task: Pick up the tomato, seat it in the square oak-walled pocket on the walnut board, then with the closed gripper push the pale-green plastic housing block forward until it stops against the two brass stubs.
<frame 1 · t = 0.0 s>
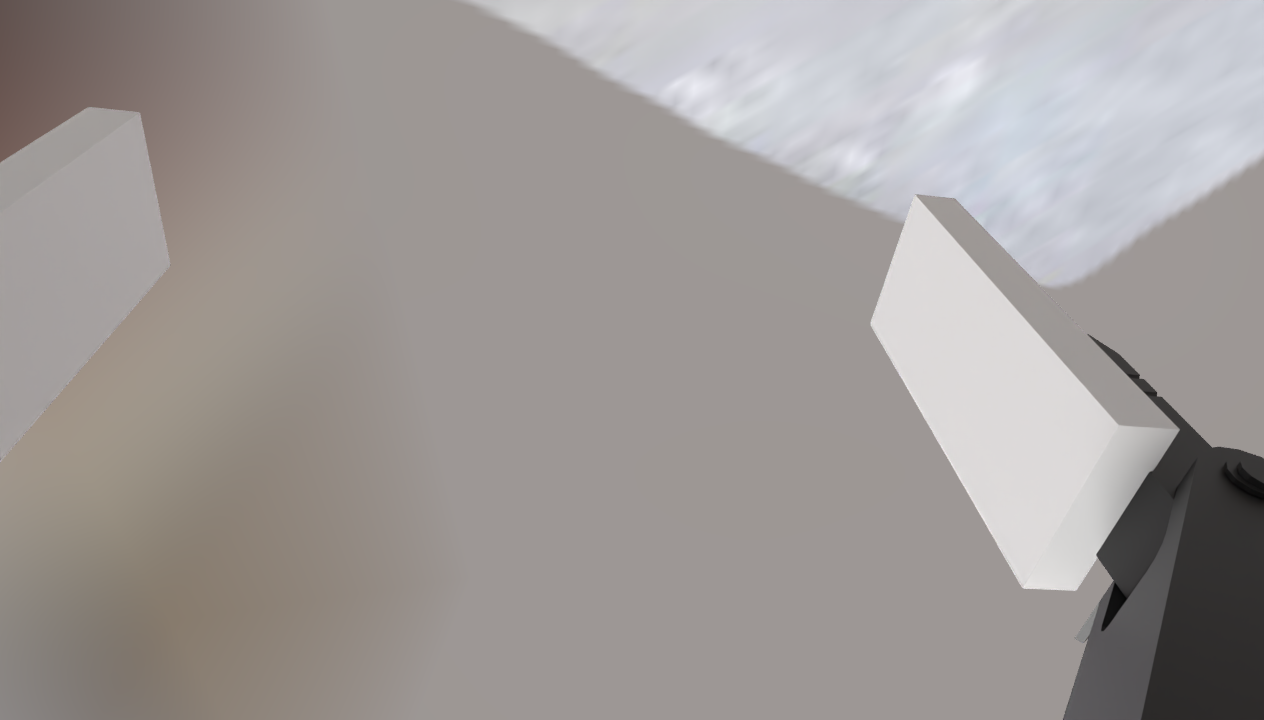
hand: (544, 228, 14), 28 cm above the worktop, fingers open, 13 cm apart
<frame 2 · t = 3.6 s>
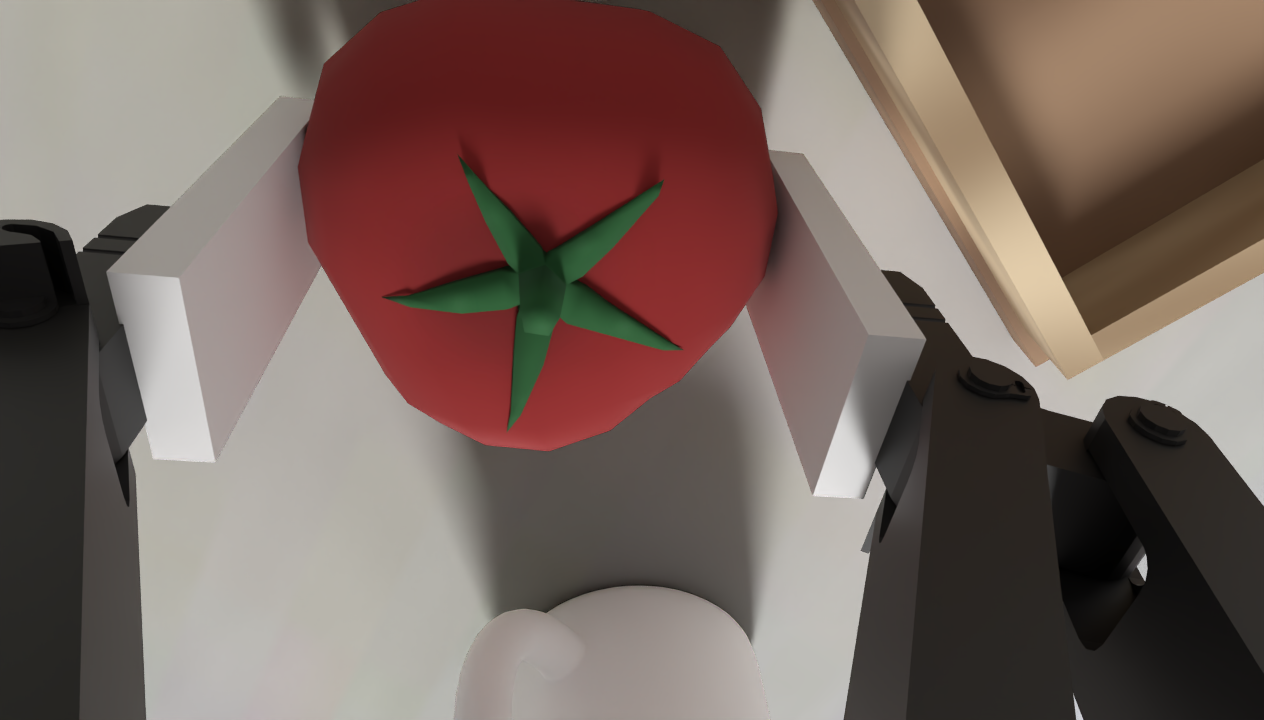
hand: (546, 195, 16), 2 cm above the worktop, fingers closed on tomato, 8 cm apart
mug: (600, 624, 26), on the worktop
tomato: (554, 154, 18), on the worktop, touching gripper
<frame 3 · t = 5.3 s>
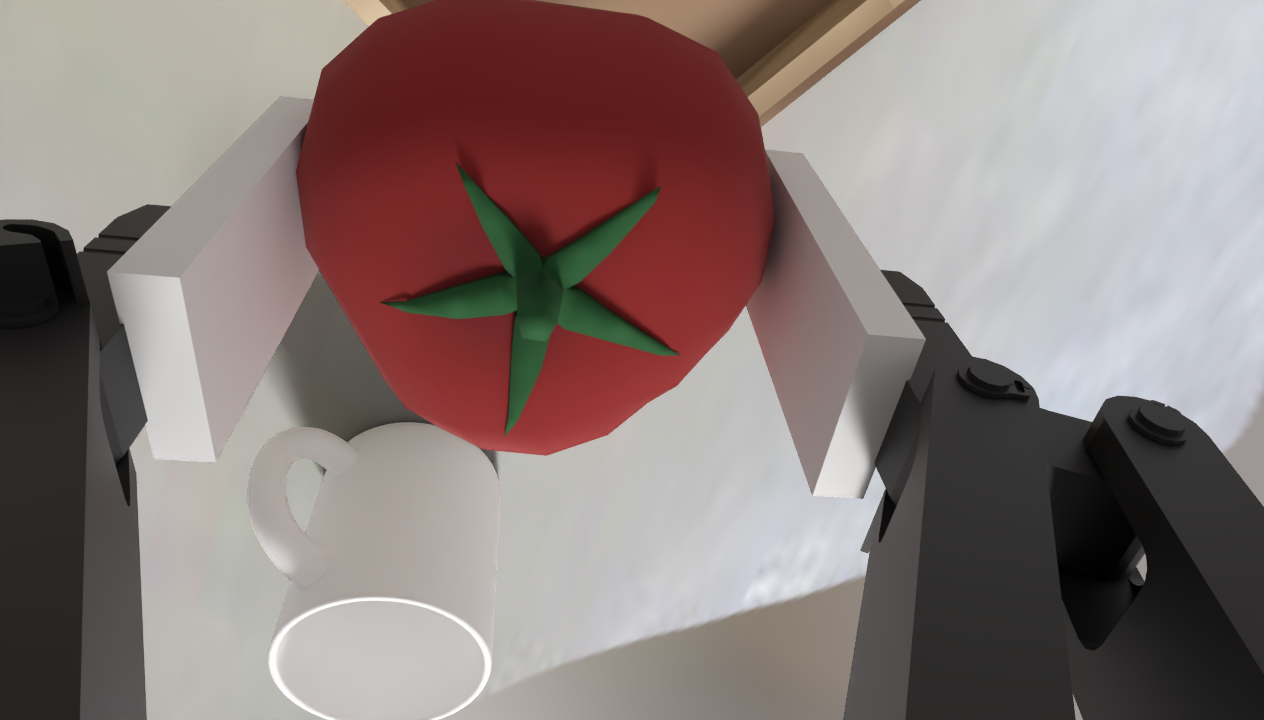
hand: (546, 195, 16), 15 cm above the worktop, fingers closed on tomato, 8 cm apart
mug: (389, 455, 39), on the worktop
tomato: (552, 158, 18), point 13 cm above the worktop, touching gripper
when the fingers open (4 cm above the worktop, at t = 7.1 s): tomato stays where it is, resting on housing base.
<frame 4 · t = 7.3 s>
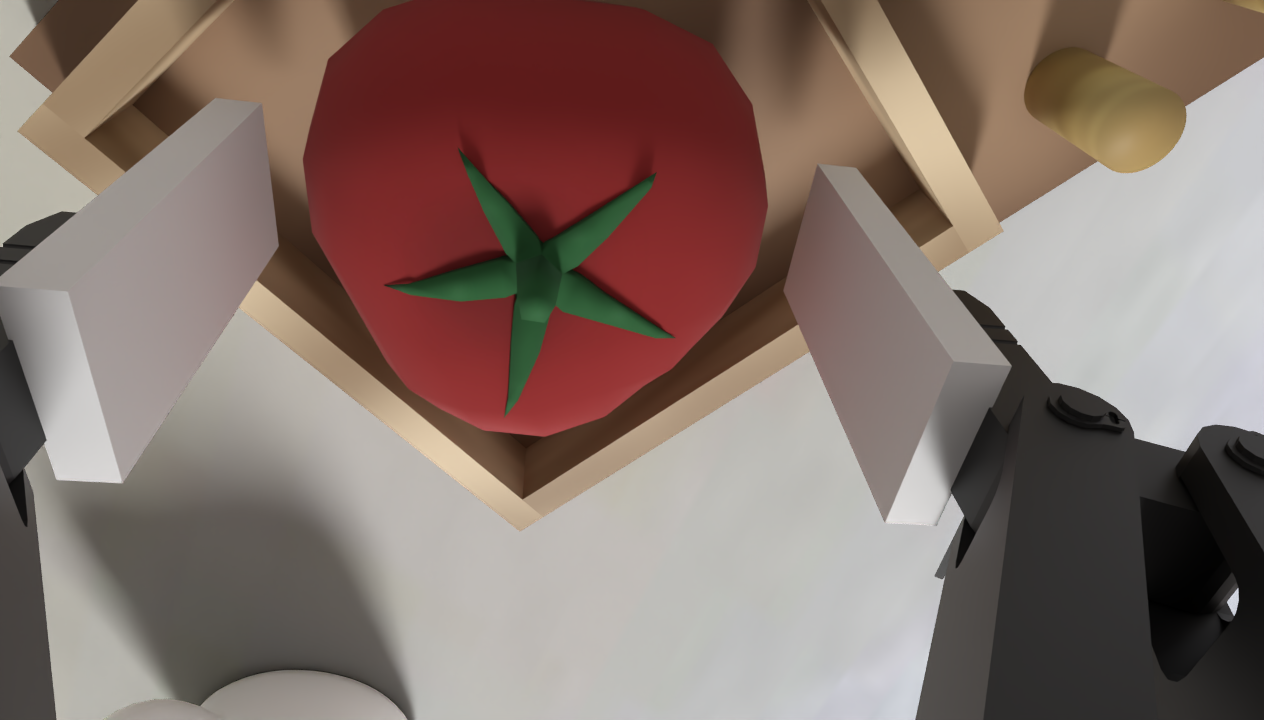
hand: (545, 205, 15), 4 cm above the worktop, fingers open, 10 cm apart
mug: (274, 700, 30), on the worktop
tomato: (552, 148, 18), point 1 cm above the worktop, touching housing base
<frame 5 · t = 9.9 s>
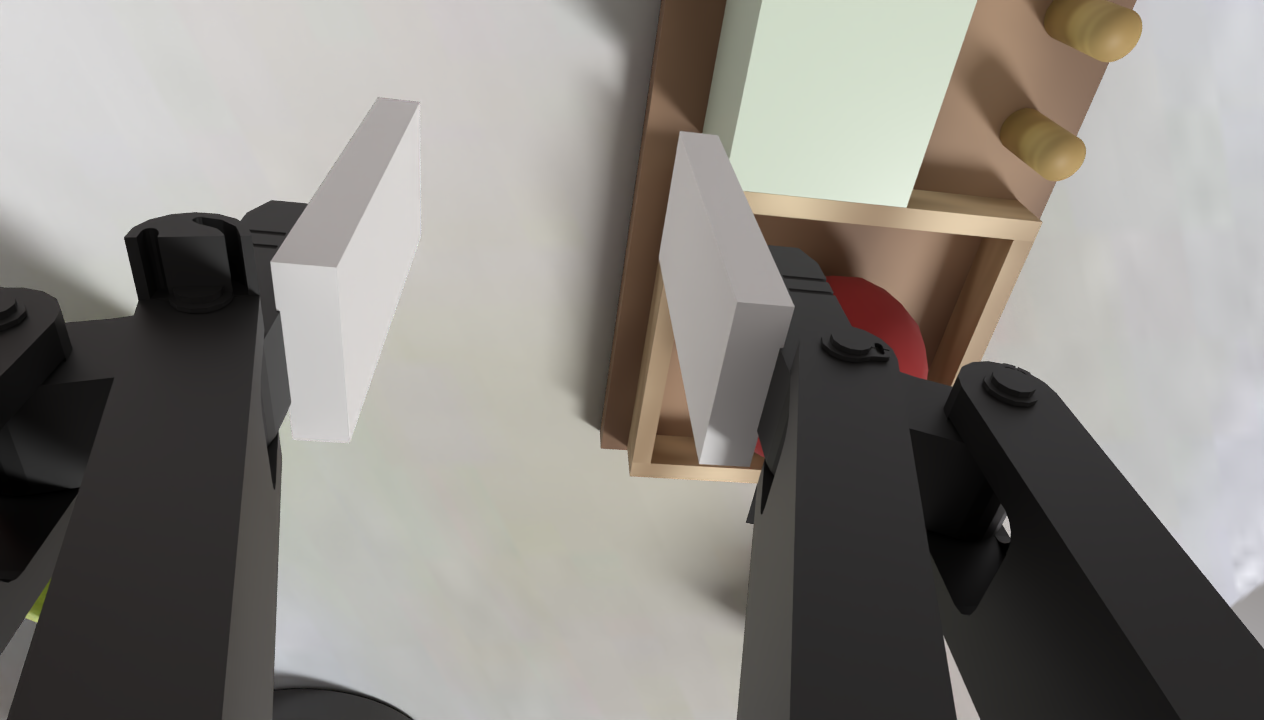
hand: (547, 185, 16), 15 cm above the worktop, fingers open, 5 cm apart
mug: (869, 641, 49), on the worktop
tomato: (807, 331, 35), point 1 cm above the worktop, touching housing base
housing base: (830, 213, 33), on the worktop
plant pot: (175, 401, 36), on the worktop
housing: (824, 63, 26), point 4 cm above the worktop, slide at 0.0 cm
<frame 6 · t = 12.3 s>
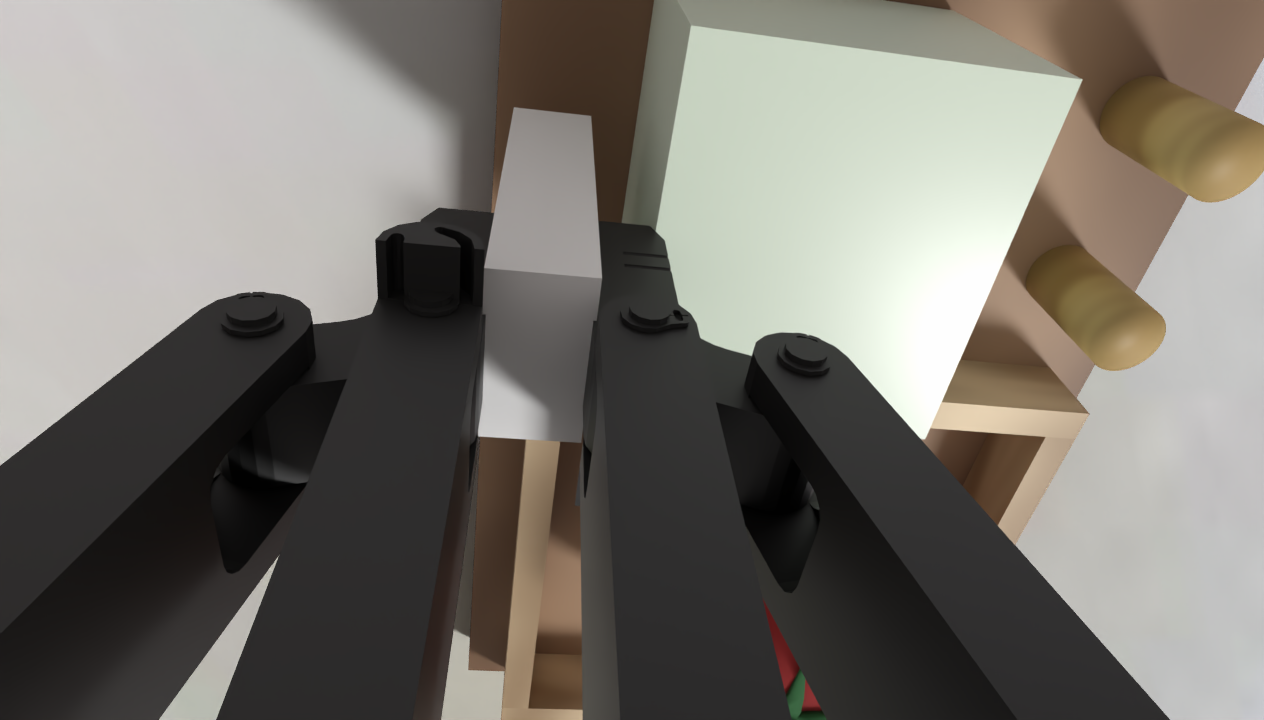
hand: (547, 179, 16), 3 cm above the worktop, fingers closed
tomato: (747, 529, 25), point 1 cm above the worktop, touching housing base
housing base: (777, 376, 23), on the worktop
housing: (794, 206, 16), point 4 cm above the worktop, slide at 0.9 cm, touching gripper
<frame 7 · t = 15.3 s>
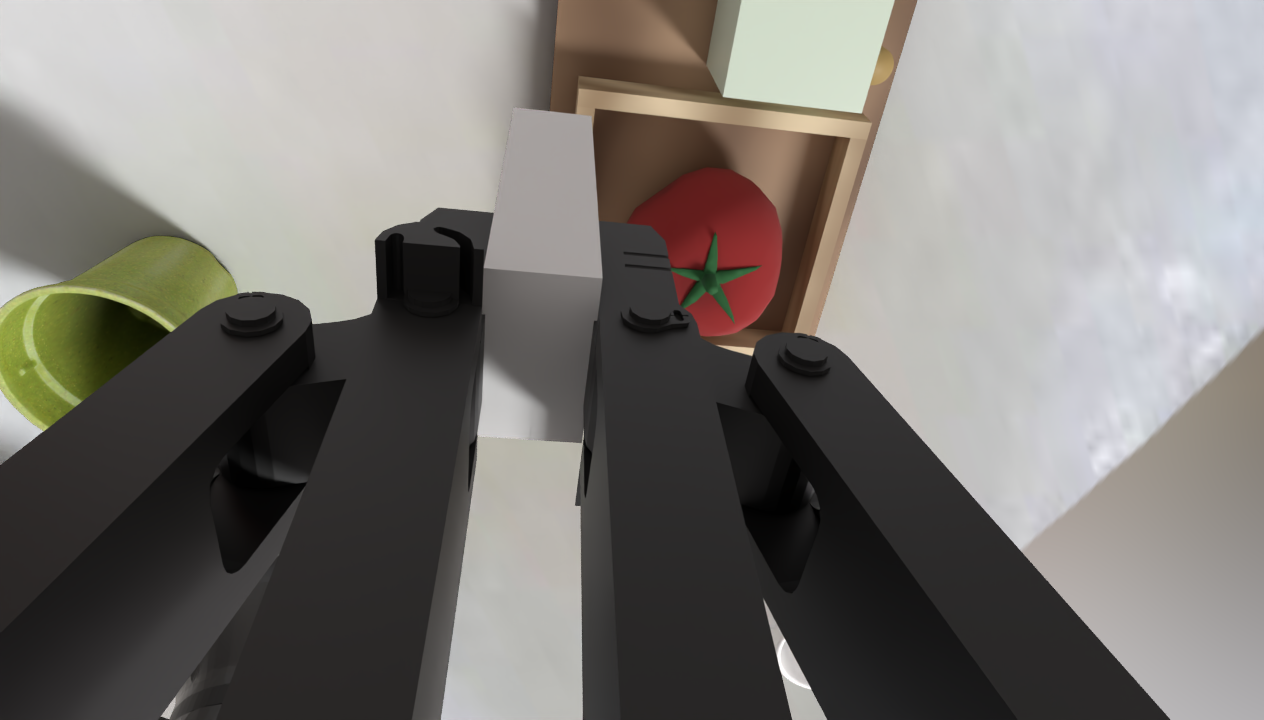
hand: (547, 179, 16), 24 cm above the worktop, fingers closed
mug: (778, 518, 57), on the worktop
tomato: (697, 222, 43), point 1 cm above the worktop, touching housing base
housing base: (711, 122, 41), on the worktop
plant pot: (179, 283, 44), on the worktop
housing: (799, 3, 34), point 4 cm above the worktop, slide at 5.0 cm, touching housing base
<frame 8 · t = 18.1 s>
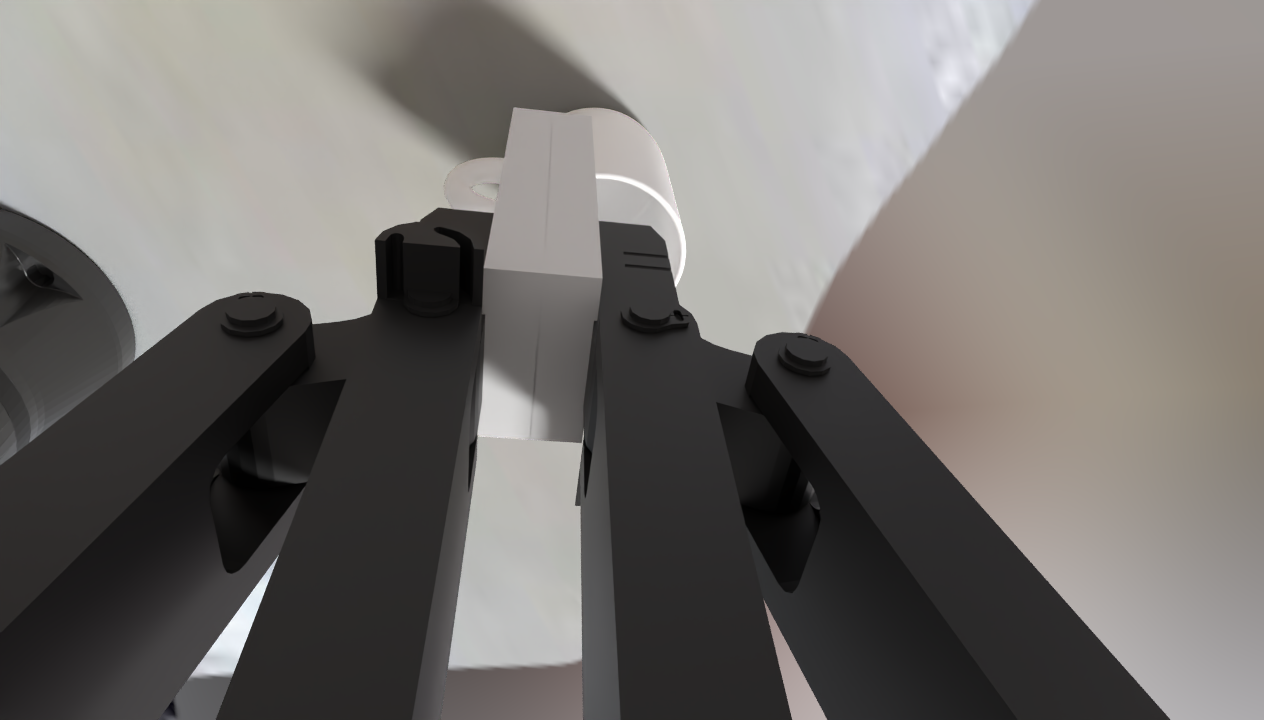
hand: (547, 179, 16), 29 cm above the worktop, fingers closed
mug: (562, 166, 47), on the worktop
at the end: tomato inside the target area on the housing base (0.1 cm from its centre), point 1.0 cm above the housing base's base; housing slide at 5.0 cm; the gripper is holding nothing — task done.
